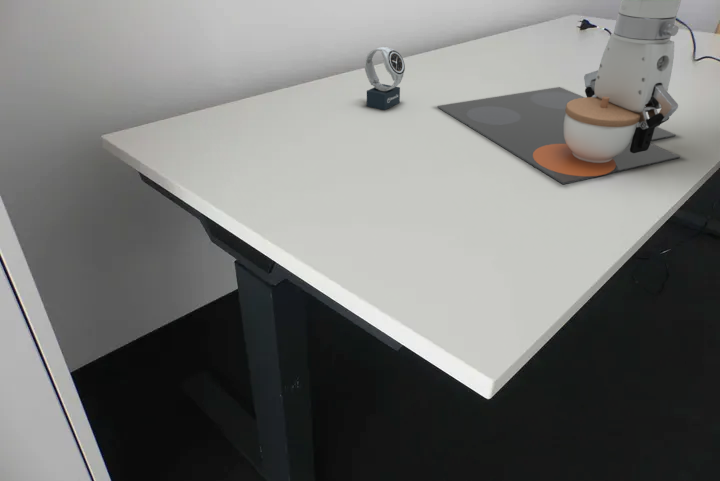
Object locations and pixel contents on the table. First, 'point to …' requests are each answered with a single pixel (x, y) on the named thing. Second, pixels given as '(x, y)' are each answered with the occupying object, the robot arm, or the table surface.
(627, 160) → the hob
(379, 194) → the table surface
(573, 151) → the trinket box
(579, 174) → the front ring
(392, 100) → the watch
